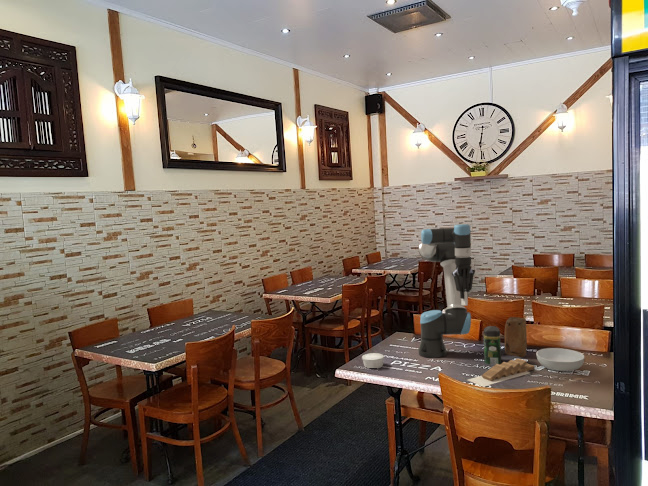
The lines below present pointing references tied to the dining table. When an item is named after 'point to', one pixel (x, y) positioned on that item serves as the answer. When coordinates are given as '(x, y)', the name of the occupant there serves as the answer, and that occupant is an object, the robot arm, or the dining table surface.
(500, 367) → the domino
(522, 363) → the domino
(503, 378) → the domino board
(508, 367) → the domino
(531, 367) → the domino
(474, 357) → the dining table surface
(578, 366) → the serving bowl
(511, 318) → the block
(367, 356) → the ramekin
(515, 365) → the domino
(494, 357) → the coffee jar
